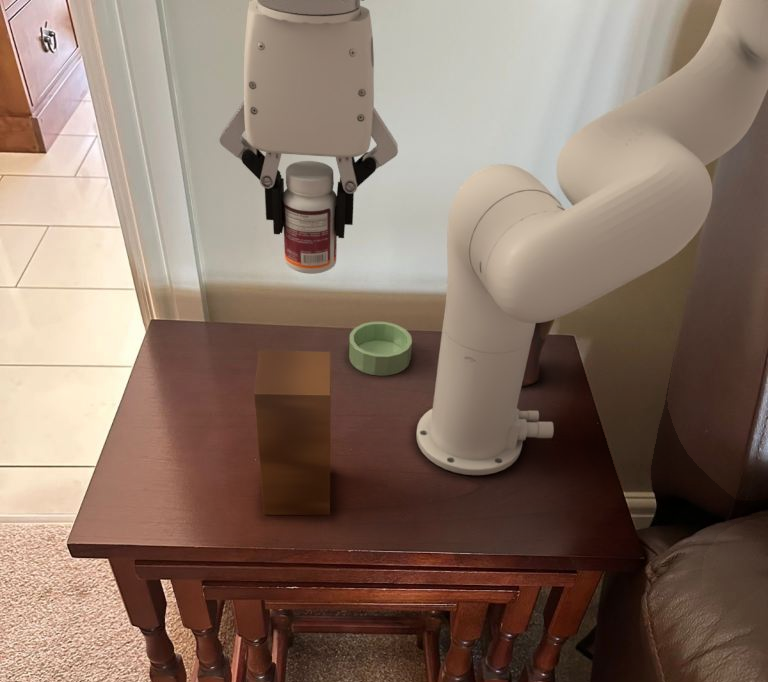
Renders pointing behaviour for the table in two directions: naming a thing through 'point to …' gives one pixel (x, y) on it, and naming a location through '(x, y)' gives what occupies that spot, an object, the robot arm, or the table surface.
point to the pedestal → (294, 431)
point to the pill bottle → (310, 217)
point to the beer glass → (536, 352)
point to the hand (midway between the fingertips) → (310, 227)
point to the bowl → (380, 348)
